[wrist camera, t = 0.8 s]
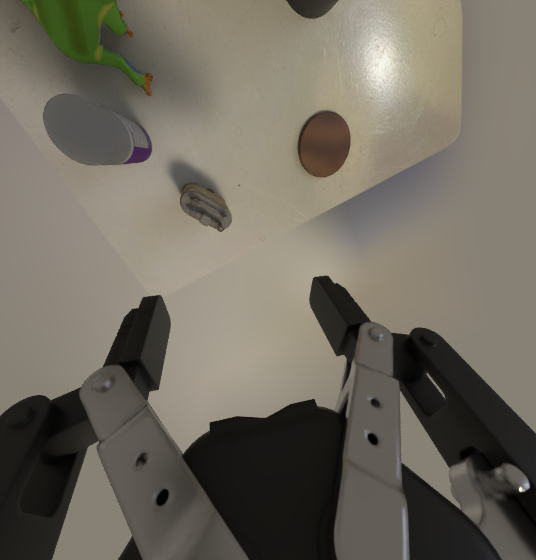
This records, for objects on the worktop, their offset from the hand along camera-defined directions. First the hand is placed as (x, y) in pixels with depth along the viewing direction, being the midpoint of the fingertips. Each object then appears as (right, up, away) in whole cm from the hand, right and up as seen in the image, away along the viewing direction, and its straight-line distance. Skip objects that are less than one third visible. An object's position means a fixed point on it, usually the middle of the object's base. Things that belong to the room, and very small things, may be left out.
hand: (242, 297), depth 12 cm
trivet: (+11, +23, +24) cm, 35 cm away
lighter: (-9, +14, +23) cm, 28 cm away
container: (-17, +19, +17) cm, 31 cm away
